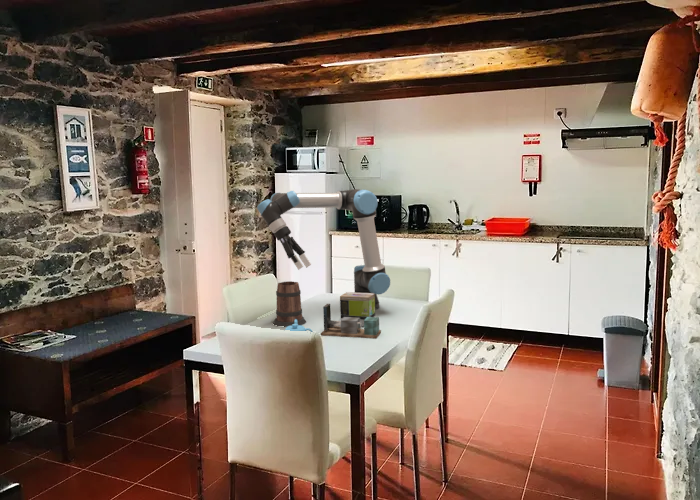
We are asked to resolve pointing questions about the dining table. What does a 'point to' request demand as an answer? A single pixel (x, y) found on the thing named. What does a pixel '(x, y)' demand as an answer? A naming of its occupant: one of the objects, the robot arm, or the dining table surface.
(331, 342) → the dining table surface
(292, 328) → the teapot
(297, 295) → the tankard
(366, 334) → the tube stand
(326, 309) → the grey piece
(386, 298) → the dining table surface
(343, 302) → the tea box
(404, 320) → the dining table surface
